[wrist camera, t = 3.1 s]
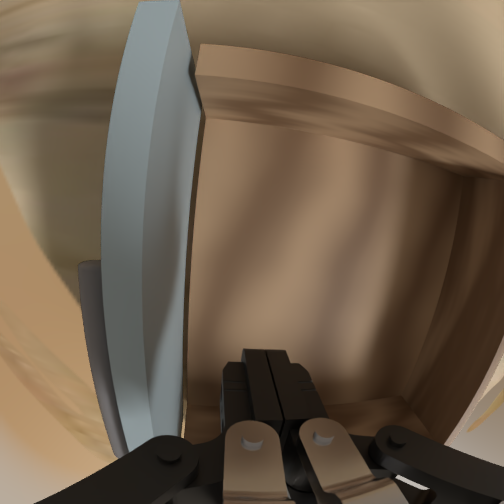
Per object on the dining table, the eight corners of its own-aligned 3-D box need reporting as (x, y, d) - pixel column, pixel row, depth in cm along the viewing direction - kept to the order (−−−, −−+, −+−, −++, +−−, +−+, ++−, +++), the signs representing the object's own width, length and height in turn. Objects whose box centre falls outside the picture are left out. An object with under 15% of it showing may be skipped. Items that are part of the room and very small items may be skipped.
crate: (461, 164, 19) (546, 172, 10) (399, 393, 24) (443, 453, 15) (209, 104, 16) (200, 43, 8) (188, 402, 22) (181, 492, 13)
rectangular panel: (202, 100, 15) (179, 0, 5) (183, 414, 20) (174, 530, 10) (165, 98, 14) (96, 7, 4) (155, 411, 19) (135, 524, 10)
